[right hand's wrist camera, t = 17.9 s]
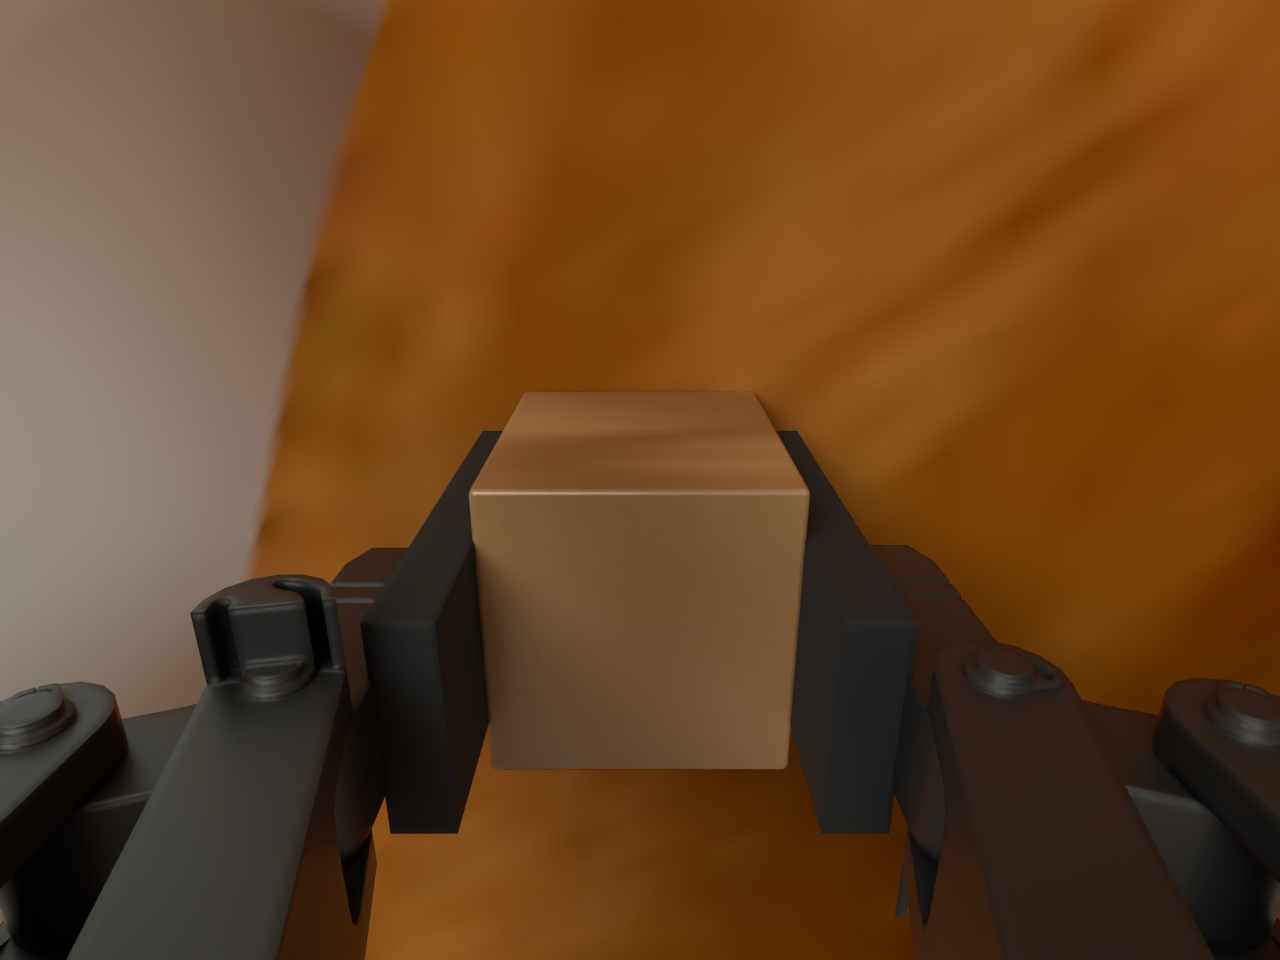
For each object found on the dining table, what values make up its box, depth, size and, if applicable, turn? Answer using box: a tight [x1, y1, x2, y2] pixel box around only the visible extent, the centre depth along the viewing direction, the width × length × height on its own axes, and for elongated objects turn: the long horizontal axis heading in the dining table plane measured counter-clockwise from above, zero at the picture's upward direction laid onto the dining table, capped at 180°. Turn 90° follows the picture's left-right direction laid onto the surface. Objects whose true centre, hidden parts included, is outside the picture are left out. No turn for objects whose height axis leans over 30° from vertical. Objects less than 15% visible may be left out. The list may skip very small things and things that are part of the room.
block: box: [469, 392, 810, 770], centre depth 12 cm, size 4×4×5 cm
